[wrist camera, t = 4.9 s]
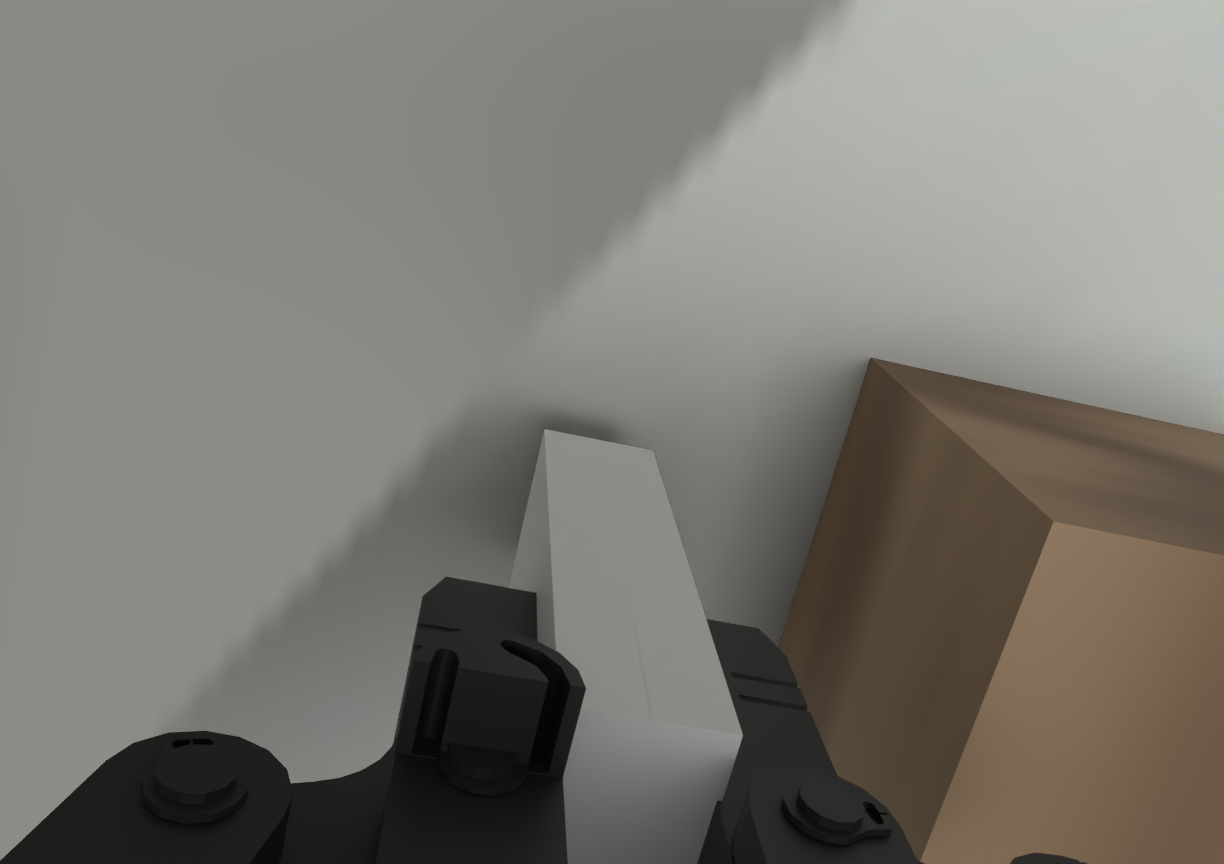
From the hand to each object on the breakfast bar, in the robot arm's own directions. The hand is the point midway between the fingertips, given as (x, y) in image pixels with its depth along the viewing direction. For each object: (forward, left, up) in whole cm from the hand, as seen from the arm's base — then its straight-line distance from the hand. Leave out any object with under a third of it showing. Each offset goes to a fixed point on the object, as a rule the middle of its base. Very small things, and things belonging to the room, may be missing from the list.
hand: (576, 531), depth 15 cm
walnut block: (+7, 0, -2) cm, 7 cm away
